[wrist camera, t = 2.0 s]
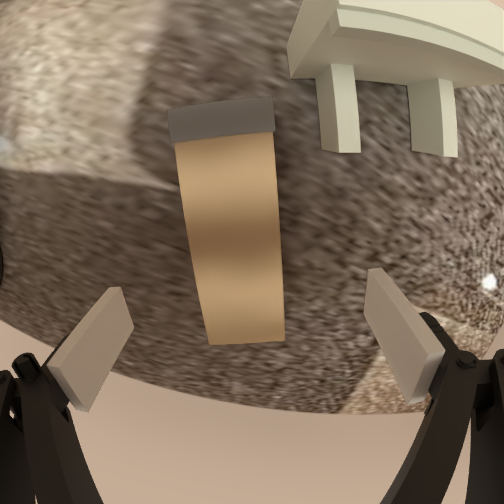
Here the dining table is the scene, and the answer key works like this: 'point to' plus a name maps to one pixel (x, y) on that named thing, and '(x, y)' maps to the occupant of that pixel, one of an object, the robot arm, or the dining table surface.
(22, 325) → the dining table surface
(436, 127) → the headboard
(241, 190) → the tan and grey block
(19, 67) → the dining table surface
